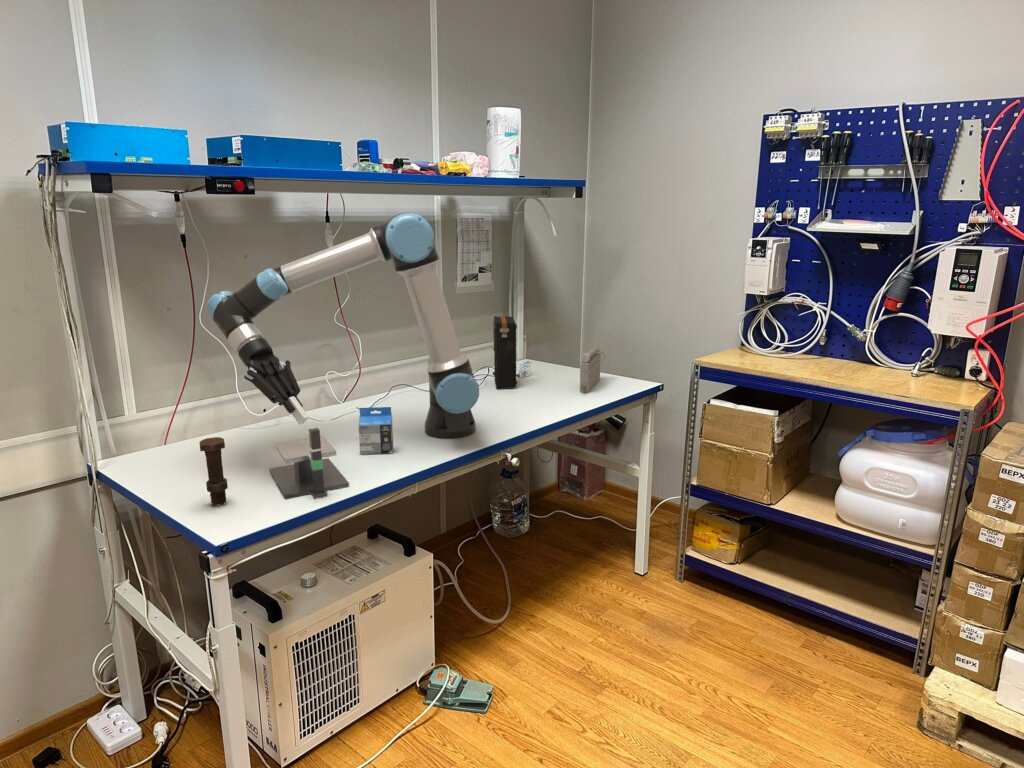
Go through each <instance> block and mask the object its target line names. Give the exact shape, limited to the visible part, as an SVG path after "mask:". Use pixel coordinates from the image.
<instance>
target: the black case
mask: <svg viewBox="0 0 1024 768" xmlns="http://www.w3.org/2000/svg"><path fill="white" fill-rule="evenodd" d="M492 325H493V337H492V338H493V348H492V349H493V355H494V357H493V358H494V363H493V364H494V365H493V366H494V369H493V370H494V371H492V376H493V377H494V383H495V384H494V385H495V388H496V389H497V390H500V389H515V388H516V387H517V383H518V381H517V329H518V324H517V323H516V321H515V319H514V317H512V316H505V315H499V316H497V315H495V316H494V317H493V322H492Z"/></svg>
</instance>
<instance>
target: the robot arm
mask: <svg viewBox="0 0 1024 768" xmlns="http://www.w3.org/2000/svg"><path fill="white" fill-rule="evenodd" d="M379 260H380V261H382V262H384V263H385V262H387V261H391V260H392V262H393V266H394V270H395V272H396V273H397V274H398V275H400V276H402V277H403V279H404V282H405V286H406V288H407V291H408V295H409V297H410V301H411V304H412V307H413V310H414V313H415V317H416V321H417V323H418V327H419V330H420V333H421V337H422V339H423V342H424V345H425V348H426V349H425V350H426V352H427V355H428V363H427V364H428V365H427V367H426V371H427V373H428V386H429V387H428V388H429V389H428V391H429V408H428V412H427V415H426V419H425V421H424V432H425V434H426V435H428V436H430V437H434V438H439V439H454V438H455V439H456V438H457V437H458V438H463V437H467V436H469V435H472V434H474V433H475V432H476V421H475V418H474V414H473V412H472V410H471V409H472V408H473V407H474V406H475V405H476V404H477V402H478V400H479V397H480V385H479V383H478V381H477V379H476V378H475V376H474V373H473V370H472V365H471V362H470V360H469V357H468V355H466V354H464V353H462V351H461V349H460V346H459V341H458V339H457V335H456V332H455V328H454V324H453V321H452V318H451V316H450V315H451V314H450V312H449V309H448V305H447V302H446V298H445V296H444V291H443V289H442V286H441V282H440V279H439V274H438V271H437V266H438V263H439V261H440V257H439V255H438V252H437V248H436V245H435V233H434V230H433V227H432V226H431V224H430V223H429V221H428V220H426V219H425V218H424V217H423V216H421V215H418V214H416V213H413V212H404V213H399V214H396V215H394V216H393V217H391V218H389V219H388V220H386V221H384V222H382V223H379V224H377V225H376V226H373V227H370V229H369V232H367V233H365V234H363V235H360V236H357V237H354V238H352V239H349V240H347V241H343V242H341V243H339V244H336V245H333V246H331V247H328V248H326V249H322V250H320V251H317V252H315V253H311V254H309V255H306V256H303V257H302V258H298V259H295V260H293V261H291V262H288V263H285V264H282V265H280V266H278V267H274V268H266V269H264V270H263V271H261V272H260V273H258V274H257V275H256V276H255V277H254V278H252V279H251V280H250V281H248V282H247V283H246V284H245V285H243V286H242V287H240V289H238V290H237V291H236V292H234V293H233V292H232V291H229V290H221V291H219V292H218V293H214V294H213V295H212V296H211V297H209V298H208V301H207V302H206V309H207V313H209V315H210V317H211V318H212V321H213V323H214V324H216V326H217V327H218V329H219V330H220V331H221V332H222V334H223V335H224V336H225V338H226V340H227V341H228V343H229V344H230V346H231V347H232V349H233V350H234V351H235V352H236V353H237V355H238V357H239V358H240V360H241V361H242V363H243V365H244V366H246V367H247V368H248V369H247V371H246V373H245V374H244V375H243V379H245V380H247V381H248V382H250V383H251V384H252V385H253V386H255V388H257V389H258V391H260V392H261V393H262V394H263V395H264V396H265V397H266V398H267V399H268V400H269V401H270V402H271V403H272V404H277V403H278V404H277V405H278V406H279V407H280V406H283V407H284V409H285V410H286V412H287V413H289V414H291V416H293V418H294V419H295V421H296V422H297V424H298V425H299V426H300V425H302V424H305V423H306V421H307V420H308V419H309V415H308V413H307V412H306V411H305V410H304V405H303V403H301V400H300V399H299V398H298V395H299V394H300V392H301V388H300V385H299V384H298V382H297V380H296V377H295V375H294V372H293V371H292V368H291V361H290V360H285V361H282V360H280V359H279V358H278V357H277V356H276V355H275V354H274V352H273V348H272V346H271V345H270V344H269V342H268V340H267V339H265V338H264V337H265V336H264V335H263V334H262V332H261V331H260V329H259V328H258V327H257V326H256V324H255V323H254V320H253V319H254V318H256V317H257V316H258V315H259V314H261V313H262V312H264V311H265V310H267V308H269V307H271V306H272V305H273V304H274V303H276V302H277V301H280V299H282V297H284V296H287V295H290V294H291V293H294V292H297V291H299V290H302V289H305V288H307V287H310V286H313V285H315V284H319V283H321V282H323V281H326V280H329V279H332V278H335V277H337V276H339V275H342V274H345V273H347V272H348V273H349V272H350V271H353V270H356V269H358V268H361V267H363V266H367V265H369V264H371V263H374V262H377V261H379Z"/></svg>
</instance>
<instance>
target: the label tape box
mask: <svg viewBox="0 0 1024 768" xmlns="http://www.w3.org/2000/svg"><path fill="white" fill-rule="evenodd" d="M375 411H377V413H371V412H375ZM379 412H380V413H379ZM358 419H359V421H358V441H359V454H360V455H376V454H377V455H380V454H393V452H394V432H393V415H392V407H391V406H378V407H373V406H372V407H371V406H370V407H369V406H368V407H359V418H358Z"/></svg>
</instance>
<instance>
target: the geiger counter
mask: <svg viewBox="0 0 1024 768" xmlns="http://www.w3.org/2000/svg"><path fill="white" fill-rule="evenodd" d="M601 354H602V355H603V356H604V357H603V358H602V359H601ZM605 359H606V354H605V353H604V352H602V351H601V350H599V347H598V346H597V345H596V346H593V347H592V348H590V350H587V352H585V353H583V354H582V355H581V356H580V360H581V362H579V363H580V364H579V365H580V366H579V367H580V368H579V369H580V370H579V393H581V394H589V393H590V391H591V390H592V389H594V387H595V386H597V384H598V383H599V382H600V381H601V363H602V362H603V361H604V360H605Z"/></svg>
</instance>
